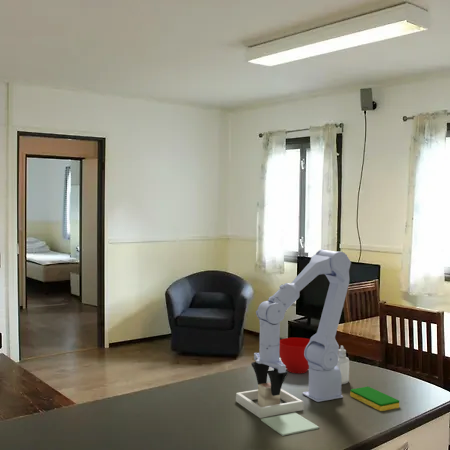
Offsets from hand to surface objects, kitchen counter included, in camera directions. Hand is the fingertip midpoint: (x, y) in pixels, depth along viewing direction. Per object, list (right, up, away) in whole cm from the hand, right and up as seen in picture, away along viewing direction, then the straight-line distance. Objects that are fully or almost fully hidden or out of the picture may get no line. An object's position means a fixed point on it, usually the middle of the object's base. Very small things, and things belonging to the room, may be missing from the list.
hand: (268, 390), depth 163 cm
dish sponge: (+31, -5, +5) cm, 32 cm away
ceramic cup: (+14, -3, +33) cm, 36 cm away
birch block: (0, -4, 0) cm, 4 cm away
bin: (0, -4, 0) cm, 4 cm away
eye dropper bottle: (+25, -4, +22) cm, 33 cm away
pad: (+4, -5, -13) cm, 15 cm away
